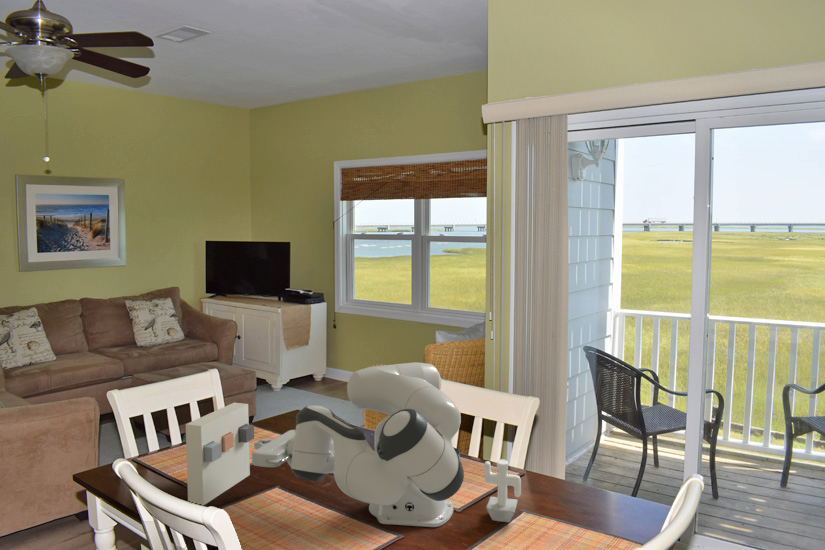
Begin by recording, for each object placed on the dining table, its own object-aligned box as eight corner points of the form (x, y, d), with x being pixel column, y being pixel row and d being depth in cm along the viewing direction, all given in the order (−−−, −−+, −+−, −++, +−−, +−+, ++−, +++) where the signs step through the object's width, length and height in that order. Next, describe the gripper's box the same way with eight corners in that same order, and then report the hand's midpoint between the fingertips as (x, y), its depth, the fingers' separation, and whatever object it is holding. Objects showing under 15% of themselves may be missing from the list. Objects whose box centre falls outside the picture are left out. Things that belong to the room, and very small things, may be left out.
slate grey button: (221, 457, 171) (221, 442, 171) (212, 462, 167) (211, 447, 167) (209, 455, 172) (208, 441, 172) (199, 460, 169) (199, 446, 168)
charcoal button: (254, 438, 186) (253, 425, 186) (246, 442, 182) (246, 429, 182) (242, 436, 187) (242, 423, 187) (234, 441, 184) (234, 428, 183)
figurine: (518, 526, 156) (519, 468, 155) (481, 521, 159) (482, 464, 157) (522, 513, 163) (522, 458, 162) (486, 509, 165) (486, 454, 164)
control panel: (249, 474, 189) (248, 404, 187) (203, 505, 168) (201, 426, 166) (235, 472, 190) (234, 402, 189) (188, 502, 170) (185, 424, 168)
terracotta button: (233, 446, 179) (233, 433, 179) (225, 451, 175) (224, 437, 175) (221, 445, 180) (221, 431, 180) (213, 449, 177) (212, 436, 176)
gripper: (279, 476, 160) (234, 468, 165) (318, 449, 180) (276, 443, 184) (279, 452, 160) (234, 445, 165) (318, 428, 179) (276, 422, 184)
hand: (257, 443), depth 175 cm, fingers closed
